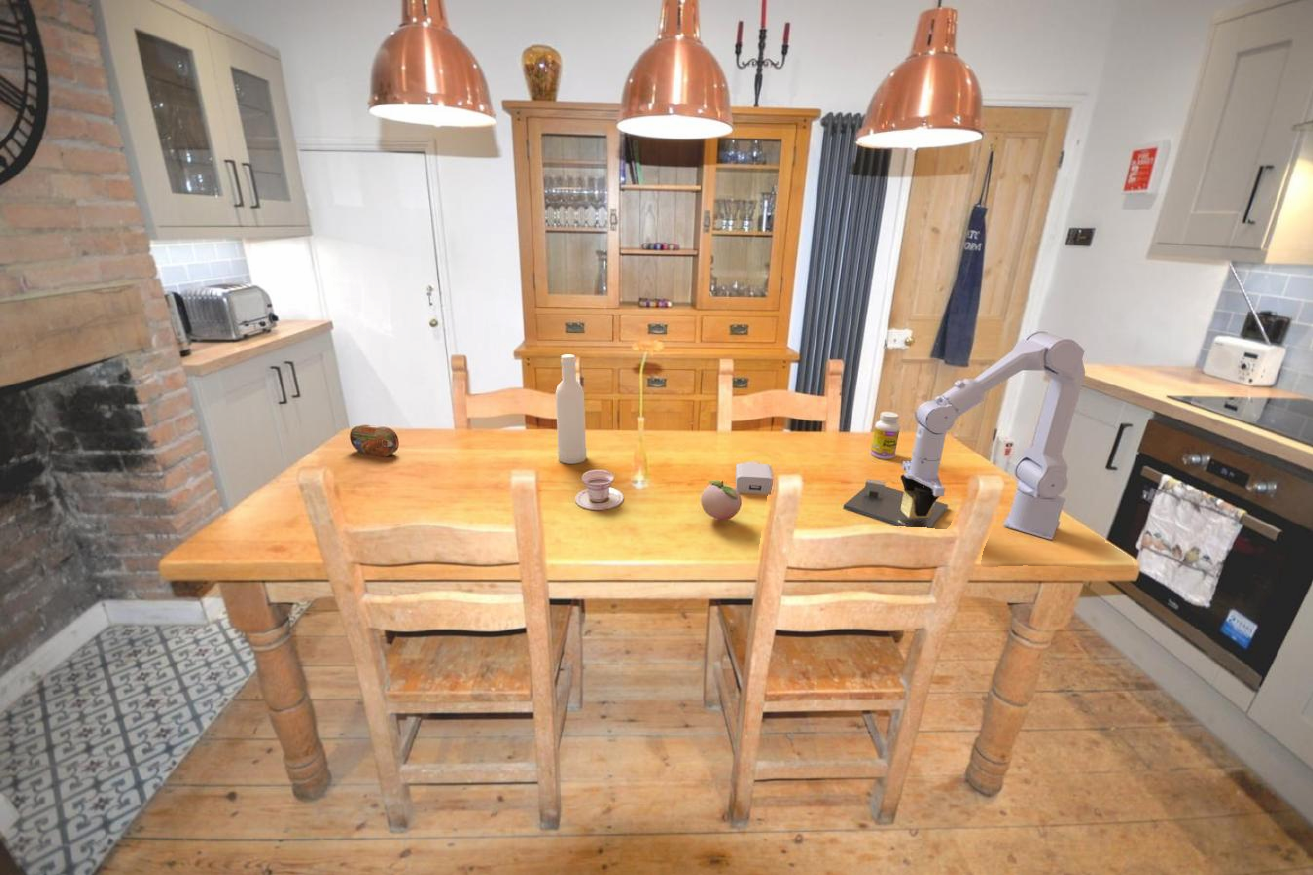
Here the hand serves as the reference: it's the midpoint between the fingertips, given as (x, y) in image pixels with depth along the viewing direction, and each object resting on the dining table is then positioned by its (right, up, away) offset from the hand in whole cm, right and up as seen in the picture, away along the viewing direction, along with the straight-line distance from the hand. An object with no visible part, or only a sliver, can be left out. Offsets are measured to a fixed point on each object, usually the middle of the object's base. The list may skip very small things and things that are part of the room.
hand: (916, 510), depth 129 cm
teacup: (-73, +1, +10) cm, 74 cm away
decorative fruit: (-45, -3, +1) cm, 45 cm away
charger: (-34, +5, +21) cm, 40 cm away
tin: (-140, +12, +35) cm, 145 cm away
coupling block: (0, -1, 0) cm, 1 cm away
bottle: (-83, +10, +33) cm, 90 cm away
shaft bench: (-1, 0, +8) cm, 8 cm away
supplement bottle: (+8, +11, +39) cm, 41 cm away
